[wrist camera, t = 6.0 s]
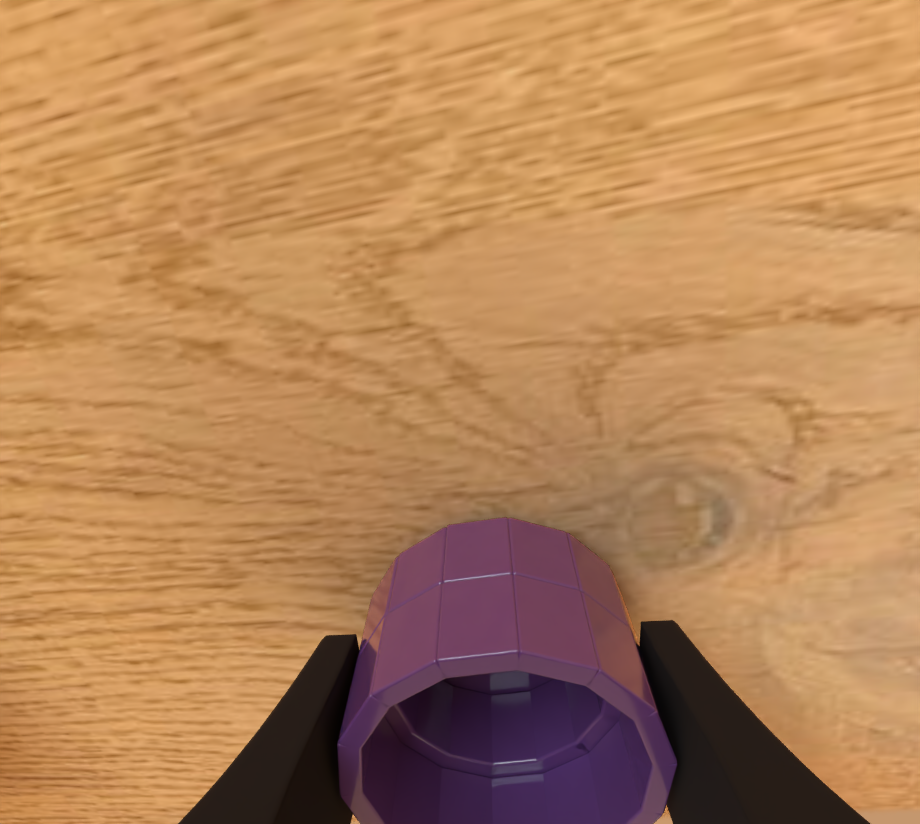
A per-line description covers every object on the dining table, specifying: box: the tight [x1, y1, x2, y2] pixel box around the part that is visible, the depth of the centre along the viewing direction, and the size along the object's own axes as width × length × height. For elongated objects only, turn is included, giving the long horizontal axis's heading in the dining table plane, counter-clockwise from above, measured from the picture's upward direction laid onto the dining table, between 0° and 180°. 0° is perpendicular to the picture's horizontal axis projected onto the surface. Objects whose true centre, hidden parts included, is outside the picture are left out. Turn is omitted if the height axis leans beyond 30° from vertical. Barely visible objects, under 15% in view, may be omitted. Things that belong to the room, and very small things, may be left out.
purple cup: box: [337, 517, 677, 824], centre depth 12 cm, size 5×6×4 cm
